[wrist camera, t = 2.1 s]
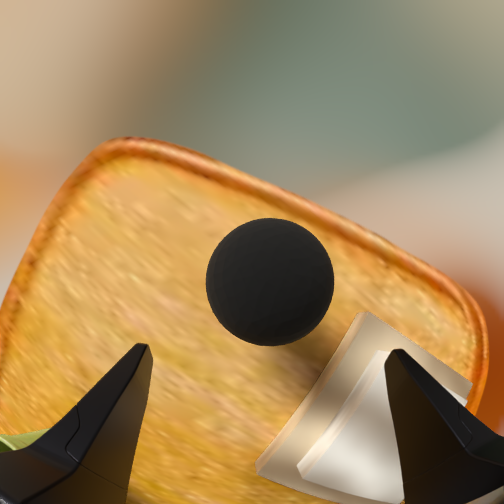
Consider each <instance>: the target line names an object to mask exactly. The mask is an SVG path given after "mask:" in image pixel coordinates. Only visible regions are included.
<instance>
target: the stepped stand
mask: <svg viewBox="0 0 504 504" xmlns="http://www.w3.org/2000/svg"><path fill="white" fill-rule="evenodd" d="M399 348H402V349H404V350H405V351H406V352H407V353H408V354H409V355H410V356H411V357H412V358H413V359H415V360H416V361H417V362H418V363H419V364H420V365H421V366H422V367H423V368H424V369H425V370H426V371H427V372H428V373H430V374H431V375H432V376H433V377H434V378H435V379H436V380H437V381H438V382H439V383H440V384H441V385H442V386H443V387H444V388H445V389H446V390H447V391H448V392H449V393H450V394H452V395H453V396H454V397H455V398H456V399H457V400H458V402H460V403H461V404H462V405H463V406H464V407H465V405H466V403H467V400H466V398H467V395H468V393H469V391H470V389H471V387H472V383H471V382H470V381H468V380H467V379H465V378H464V377H463V376H461V375H460V374H458V373H457V372H456V371H454V370H453V369H451V368H450V367H449V366H447V365H446V364H444V363H443V362H441V361H440V360H439V359H437V358H436V357H434V356H433V355H431V354H430V353H429V352H427V351H426V350H424V349H423V348H421V347H420V346H419V345H417V344H416V343H414V342H413V341H411V340H410V339H408V338H407V337H406V336H404V335H403V334H401V333H400V332H398V331H397V330H395V329H394V328H393V327H391V326H390V325H388V324H387V323H385V322H384V321H382V320H381V319H379V318H378V317H376V316H375V315H373V314H372V313H371V312H369V311H368V312H361V313H357V315H356V317H355V318H354V320H353V322H352V324H351V326H350V327H349V329H348V331H347V333H346V334H345V336H344V338H343V339H342V341H341V343H340V345H339V346H338V348H337V350H336V351H335V353H334V354H333V356H332V358H331V359H330V361H329V362H328V364H327V366H326V367H325V369H324V370H323V372H322V373H321V375H320V376H319V378H318V380H317V381H316V383H315V384H314V385H313V387H312V388H311V390H310V391H309V393H308V394H307V396H306V397H305V399H304V400H303V401H302V403H301V404H300V406H299V407H298V408H297V410H296V411H295V412H294V414H293V415H292V416H291V418H290V419H289V421H288V422H287V423H286V424H285V426H284V427H283V428H282V430H281V431H280V432H279V433H278V435H277V436H276V437H275V439H274V440H273V441H272V442H271V443H270V445H269V446H268V447H267V448H266V450H265V451H264V452H263V453H262V454H261V455H260V457H259V458H258V459H257V460H256V461H255V467H256V474H257V475H260V476H262V477H264V478H266V479H269V480H271V481H274V482H276V483H279V484H281V485H284V486H286V487H289V488H292V489H295V490H297V491H300V492H303V493H306V494H309V495H312V496H316V497H319V498H322V499H326V500H329V501H333V502H337V503H341V504H400V503H401V501H402V500H403V499H404V491H403V481H402V474H401V466H400V460H399V453H398V447H397V441H396V436H395V431H394V425H393V420H392V415H391V411H390V406H389V401H388V395H387V386H386V378H385V371H384V363H385V361H386V359H387V357H388V356H389V354H390V353H391V351H392V350H393V349H399Z"/></svg>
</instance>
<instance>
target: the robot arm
mask: <svg viewBox="0 0 504 504" xmlns="http://www.w3.org/2000/svg"><path fill="white" fill-rule="evenodd" d="M152 366H153V357H152V354H151V351H150V347H149V345H148V344H144V343H137V344H135V345H134V346H133V347H132V348H131V349H130V350H129V351H128V352H127V353H126V354H125V355H124V356H123V357H122V358H121V359H120V360H119V361H118V362H117V363H116V364H115V365H114V366H113V367H112V368H111V369H110V370H109V371H108V372H107V373H106V374H105V375H104V376H103V377H102V378H101V379H100V380H99V381H98V382H97V384H96V385H95V386H94V387H93V388H92V389H91V390H90V391H89V392H88V393H87V394H86V395H85V396H84V397H83V398H82V399H81V400H80V401H79V402H78V403H77V405H75V406H74V407H73V408H72V409H71V410H70V411H69V412H68V413H67V414H66V415H65V416H64V417H63V418H62V419H61V420H60V421H59V422H57V423H56V424H55V425H54V426H53V427H52V428H50V429H49V430H48V431H47V432H45V433H44V434H43V435H42V436H40V437H39V438H38V439H37V440H35V441H34V442H33V443H31V444H30V445H28V446H27V447H24V448H22V449H18V450H12V451H6V452H0V504H125V502H126V496H127V490H128V484H129V479H130V474H131V469H132V464H133V460H134V455H135V450H136V446H137V442H138V437H139V433H140V429H141V425H142V420H143V416H144V412H145V408H146V405H147V400H148V394H149V386H150V379H151V372H152ZM384 371H385V378H386V386H387V395H388V401H389V406H390V411H391V415H392V420H393V425H394V431H395V436H396V441H397V447H398V453H399V460H400V466H401V474H402V481H403V491H404V501H405V504H504V437H502V436H500V435H498V434H496V433H494V432H493V431H492V430H491V429H490V428H488V427H487V426H486V425H485V424H483V423H482V422H481V421H480V420H478V419H477V418H476V417H475V416H474V415H473V414H471V413H470V412H469V411H468V410H467V409H466V408H465V407H464V406H463V405H462V404H461V403H460V402H458V400H457V399H456V398H455V397H454V396H453V395H452V394H450V393H449V392H448V391H447V390H446V389H445V388H444V387H443V386H442V385H441V384H440V383H439V382H438V381H437V380H436V379H435V378H434V377H433V376H432V375H431V374H430V373H428V372H427V371H426V370H425V369H424V368H423V367H422V366H421V365H420V364H419V363H418V362H417V361H416V360H415V359H413V358H412V357H411V356H410V355H409V354H408V353H407V352H406V351H405V350H404V349H402V348H399V349H393V350H392V351H391V353H390V354H389V356H388V357H387V359H386V361H385V363H384Z"/></svg>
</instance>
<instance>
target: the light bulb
mask: <svg viewBox="0 0 504 504" xmlns="http://www.w3.org/2000/svg"><path fill="white" fill-rule="evenodd" d="M333 291H334V273H333V267H332V264H331V260H330V258H329V256H328V253H327V252H326V250H325V248H324V247H323V245H322V244H321V243H320V241H319V240H318V239H317V238H316V237H315V236H314V235H313V234H312V233H311V232H309V231H308V230H307V229H305V228H303V227H302V226H300V225H298V224H296V223H293V222H291V221H287V220H283V219H275V218H263V219H257V220H253V221H250V222H247V223H245V224H243V225H241V226H239V227H237V228H236V229H234V230H233V231H231V232H230V233H229V234H228V235H227V236H226V237H224V239H223V240H222V241H221V242H220V243H219V244H218V246H217V247H216V249H215V250H214V252H213V254H212V256H211V258H210V261H209V264H208V268H207V273H206V292H207V296H208V300H209V303H210V306H211V308H212V311H213V313H214V314H215V316H216V317H217V319H218V321H219V322H220V323H221V324H222V325H223V326H224V327H225V328H226V329H227V330H228V331H229V332H230V333H232V334H233V335H235V336H236V337H238V338H240V339H242V340H244V341H246V342H249V343H252V344H256V345H260V346H279V345H285V344H288V343H292V342H294V341H297V340H299V339H301V338H302V337H304V336H306V335H307V334H308V333H310V332H311V331H312V330H313V329H314V328H315V327H316V326H317V325H318V324H319V323H320V321H321V320H322V319H323V317H324V315H325V314H326V312H327V310H328V308H329V305H330V303H331V300H332V296H333Z"/></svg>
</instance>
